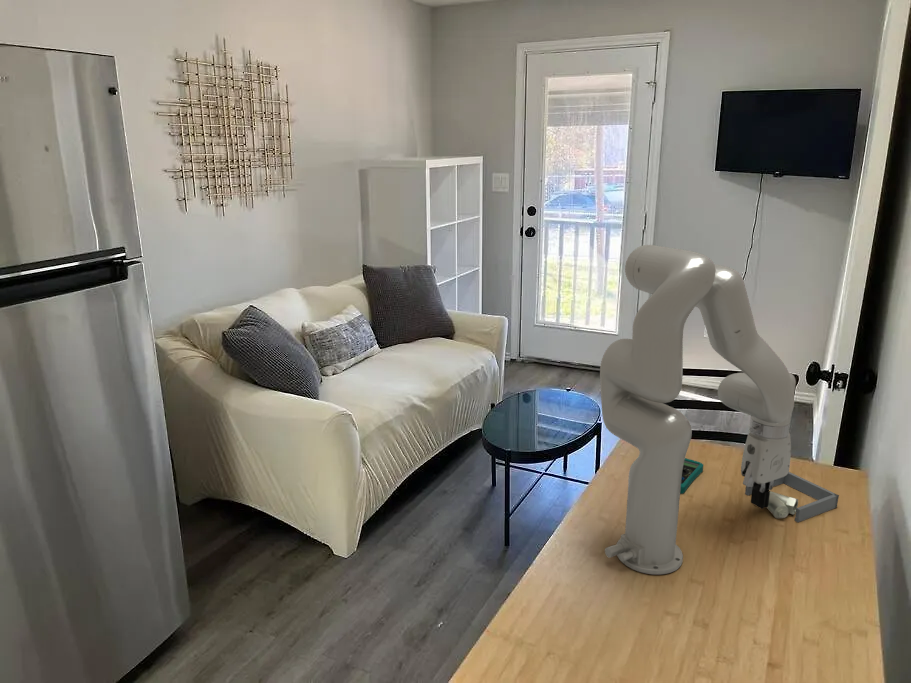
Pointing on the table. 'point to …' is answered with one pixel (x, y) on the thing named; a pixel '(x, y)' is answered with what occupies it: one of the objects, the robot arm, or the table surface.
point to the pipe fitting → (781, 505)
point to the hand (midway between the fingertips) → (759, 505)
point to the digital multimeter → (689, 473)
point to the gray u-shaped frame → (823, 496)
